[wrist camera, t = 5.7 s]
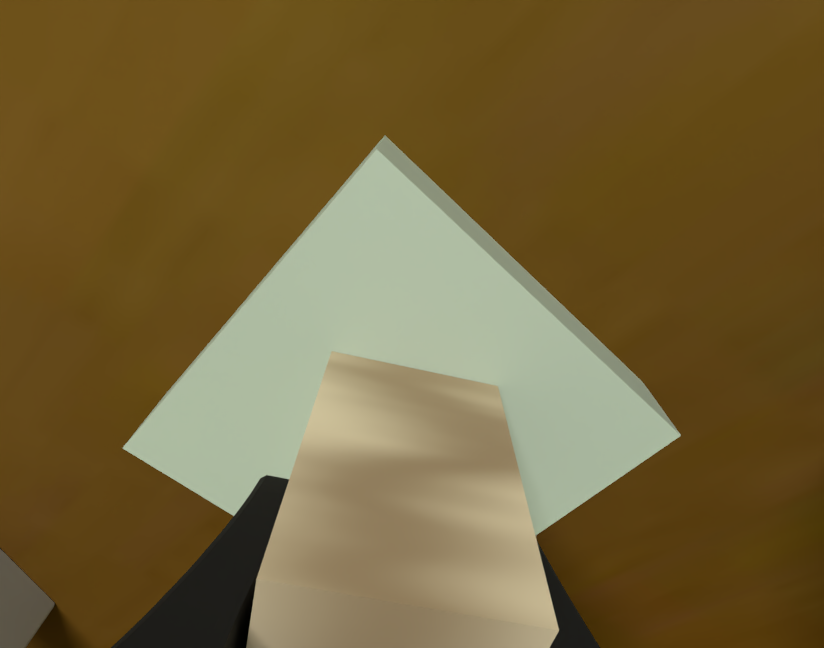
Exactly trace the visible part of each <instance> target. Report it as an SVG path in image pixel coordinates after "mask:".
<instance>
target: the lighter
mask: <svg viewBox="0 0 824 648" xmlns="http://www.w3.org/2000/svg"><path fill="white" fill-rule="evenodd" d="M54 604H55V603H54V602H53V601H52V600H51V599H50V598H49V597H48V596H47V595H46V594H45V593H44V592H43V591H42V590H41V589H40V588H39V587H38V586H37V585H36V584H35V583H34V582H33V581H32V580H31V579H30V578H29V577H28V576H27V575H26V574H25V573H24V572H23V571H22V570H21V569H20V568H19V567H18V566H17V565H16V564H15V563H14V562H13V561H12V560H11V559H10V558H9V557H8V556H7V555H6V554H5V553H4V552H3V551H2V550H1V549H0V648H26V647H27V645H28V644H29V642H30V641H31V639H32V638H33V636H34V635H35V634H36V632H37V631H38V629H39V628H40V626H41V625H42V623H43V622H44V620H45V619H46V618H47V616H48V615H49V613H50V612H51V610H52V609H53V607H54Z"/></svg>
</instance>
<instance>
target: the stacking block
mask: <svg viewBox="0 0 824 648" xmlns="http://www.w3.org/2000/svg"><path fill="white" fill-rule="evenodd" d="M331 351H334V352H338V353H343V354H348V355H353V356H357V357H362V358H367V359H372V360H376V361H381V362H386V363H391V364H395V365H400V366H405V367H410V368H415V369H419V370H424V371H429V372H434V373H438V374H443V375H448V376H453V377H457V378H462V379H467V380H472V381H476V382H481V383H486V384H491V385H495V386H498V388H499V392H500V396H501V400H502V404H503V408H504V412H505V416H506V420H507V424H508V428H509V432H510V436H511V440H512V444H513V448H514V452H515V456H516V460H517V464H518V468H519V472H520V476H521V480H522V484H523V488H524V492H525V496H526V500H527V504H528V508H529V512H530V516H531V520H532V524H533V528H534V532H535V536H536V535H537V534H539V533H540V532H542V531H543V530H544V529H546V528H547V527H549V526H550V525H552V524H553V523H555V522H556V521H557V520H559V519H560V518H562V517H563V516H565V515H566V514H568V513H569V512H571V511H572V510H573V509H575V508H576V507H578V506H579V505H581V504H582V503H584V502H585V501H587V500H588V499H589V498H591V497H592V496H594V495H595V494H597V493H598V492H600V491H601V490H603V489H604V488H605V487H607V486H608V485H610V484H611V483H613V482H614V481H616V480H617V479H618V478H620V477H621V476H623V475H624V474H626V473H627V472H629V471H630V470H632V469H633V468H634V467H636V466H637V465H639V464H640V463H642V462H643V461H645V460H646V459H648V458H649V457H650V456H652V455H653V454H655V453H656V452H658V451H659V450H661V449H662V448H664V447H665V446H666V445H668V444H669V443H671V442H672V441H674V440H675V439H677V438H678V437H680V436H681V435H680V433H679V432H678V431H677V429H676V428H675V426H674V425H673V424H672V422H671V421H670V419H669V418H668V417H667V415H666V414H665V412H664V411H663V410H662V408H661V407H660V406H659V404H658V403H657V401H656V400H655V399H654V397H653V396H652V394H651V393H650V392H649V390H648V389H647V387H646V386H645V385H644V383H643V382H642V381H641V380H640V379H639V378H638V377H637V376H636V375H635V374H634V373H633V372H632V371H631V370H629V369H628V368H627V367H626V366H625V365H624V364H623V363H622V362H621V361H620V360H619V359H618V358H617V357H616V356H615V355H614V354H613V353H612V352H611V351H610V350H609V349H608V348H606V347H605V346H604V345H603V344H602V343H601V342H600V341H599V340H598V339H597V338H596V337H595V336H594V335H593V334H592V333H591V332H590V331H589V330H588V329H587V328H586V327H585V326H584V325H582V324H581V323H580V322H579V321H578V320H577V319H576V318H575V317H574V316H573V315H572V314H571V313H570V312H569V311H568V310H567V309H566V308H565V307H564V306H563V305H562V304H561V303H559V302H558V301H557V300H556V299H555V298H554V297H553V296H552V295H551V294H550V293H549V292H548V291H547V290H546V289H545V288H544V287H543V286H542V285H541V284H540V283H539V282H538V281H537V280H535V279H534V278H533V277H532V276H531V275H530V274H529V273H528V272H527V271H526V270H525V269H524V268H523V267H522V266H521V265H520V264H519V263H518V262H517V261H516V260H515V259H514V258H512V257H511V256H510V255H509V254H508V253H507V252H506V251H505V250H504V249H503V248H502V247H501V246H500V245H499V244H498V243H497V242H496V241H495V240H494V239H493V238H492V237H491V236H490V235H488V234H487V233H486V232H485V231H484V230H483V229H482V228H481V227H480V226H479V225H478V224H477V223H476V222H475V221H474V220H473V219H472V218H471V217H470V216H469V215H468V214H467V213H465V212H464V211H463V210H462V209H461V208H460V207H459V206H458V205H457V204H456V203H455V202H454V201H453V200H452V199H451V198H450V197H449V196H448V195H447V194H446V193H445V192H444V191H443V190H441V189H440V188H439V187H438V186H437V185H436V184H435V183H434V182H433V181H432V180H431V179H430V178H429V177H428V176H427V175H426V174H425V173H424V172H423V171H422V170H421V169H420V168H418V167H417V166H416V165H415V164H414V163H413V162H412V161H411V160H410V159H409V158H408V157H407V156H406V155H405V154H404V153H403V152H402V151H401V150H400V149H399V148H398V147H397V146H396V145H394V144H393V143H392V142H391V141H390V140H389V139H388V138H387V137H386V136H384V137H383V138H382V139H381V141H380V142H379V143H378V144H377V145H376V146H375V148H374V149H373V150H372V151H371V152H370V154H369V155H368V156H367V157H366V158H365V159H364V161H363V162H362V163H361V164H360V165H359V167H358V168H357V169H356V170H355V171H354V172H353V174H352V175H351V176H350V177H349V178H348V179H347V181H346V182H345V183H344V184H343V185H342V187H341V188H340V189H339V190H338V191H337V192H336V194H335V195H334V196H333V197H332V198H331V200H330V201H329V202H328V203H327V204H326V205H325V207H324V208H323V209H322V210H321V211H320V213H319V214H318V215H317V216H316V217H315V218H314V220H313V221H312V222H311V223H310V224H309V226H308V227H307V228H306V229H305V230H304V231H303V233H302V234H301V235H300V236H299V237H298V239H297V240H296V241H295V242H294V243H293V244H292V246H291V247H290V248H289V249H288V250H287V251H286V253H285V254H284V255H283V256H282V257H281V259H280V260H279V261H278V262H277V263H276V264H275V266H274V267H273V268H272V269H271V270H270V272H269V273H268V274H267V275H266V276H265V277H264V279H263V280H262V281H261V282H260V283H259V285H258V286H257V287H256V288H255V289H254V290H253V292H252V293H251V294H250V295H249V296H248V298H247V299H246V300H245V301H244V302H243V303H242V305H241V306H240V307H239V308H238V309H237V311H236V312H235V313H234V314H233V315H232V316H231V318H230V319H229V320H228V321H227V322H226V324H225V325H224V326H223V327H222V328H221V329H220V331H219V332H218V333H217V334H216V335H215V336H214V338H213V339H212V340H211V341H210V342H209V344H208V345H207V346H206V347H205V348H204V349H203V351H202V352H201V353H200V354H199V355H198V357H197V358H196V359H195V360H194V361H193V362H192V364H191V365H190V366H189V367H188V368H187V370H186V371H185V372H184V373H183V374H182V375H181V377H180V378H179V379H178V380H177V381H176V383H175V384H174V385H173V386H172V387H171V388H170V390H169V391H168V392H167V393H166V394H165V396H164V397H163V398H162V399H161V401H160V402H159V403H158V404H157V406H156V407H155V408H154V409H153V411H152V412H151V413H150V414H149V416H148V417H147V418H146V419H145V421H144V422H143V423H142V424H141V426H140V427H139V428H138V429H137V431H136V432H135V433H134V434H133V436H132V437H131V438H130V439H129V441H128V442H127V443H126V444H125V446H124V447H123V449H125V450H126V451H128V452H130V453H131V454H133V455H135V456H136V457H138V458H139V459H141V460H143V461H144V462H146V463H148V464H149V465H151V466H153V467H154V468H156V469H158V470H159V471H161V472H162V473H164V474H166V475H167V476H169V477H171V478H172V479H174V480H176V481H177V482H179V483H181V484H182V485H184V486H185V487H187V488H189V489H190V490H192V491H194V492H195V493H197V494H199V495H200V496H202V497H204V498H205V499H207V500H208V501H210V502H212V503H213V504H215V505H217V506H218V507H220V508H222V509H223V510H225V511H227V512H228V513H230V514H231V515H233V516H234V515H235V514H236V513H237V512H238V510H239V509H240V508H241V506H242V505H243V503H244V502H245V501H246V499H247V498H248V496H249V495H250V494H251V492H252V491H253V489H254V488H255V486H256V484H257V483H258V481H259V480H260V478H262V477H264V476H266V475H269V476H275V477H280V478H285V479H290V476H291V473H292V470H293V467H294V464H295V460H296V457H297V454H298V451H299V448H300V445H301V442H302V439H303V436H304V433H305V430H306V427H307V424H308V421H309V418H310V415H311V412H312V409H313V406H314V403H315V400H316V397H317V394H318V391H319V388H320V385H321V382H322V379H323V376H324V373H325V370H326V366H327V363H328V360H329V357H330V354H331Z"/></svg>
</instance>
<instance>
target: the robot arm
mask: <svg viewBox="0 0 824 648" xmlns="http://www.w3.org/2000/svg"><path fill="white" fill-rule="evenodd" d="M288 482H289V479H285V478H280V477H275V476H269V475H266V476H264V477H262V478H260V480H259V481H258V483H257V484H256V486H255V488H254V489H253V491H252V492H251V494H250V495H249V496H248V498H247V499H246V501H245V502H244V503H243V505H242V506H241V508H240V509H239V510H238V512H237V513H236V514H235V515H234V517H233V518H232V519H231V520H230V522H229V523H228V524H227V526H226V527H225V528H224V529H223V531H222V532H221V533H220V534H219V535H218V536H217V538H216V539H215V540H214V541H213V542H212V543H211V545H210V546H209V547H208V548H207V549H206V550H205V552H204V553H203V554H202V555H201V556H200V558H199V559H198V560H197V561H196V562H195V563H194V564H193V565H192V567H191V568H190V569H189V570H188V571H187V572H186V573H185V574H184V575H183V576H182V577H181V578H180V579H179V580H178V582H177V583H176V584H175V585H174V586H173V587H172V588H171V589H170V590H169V591H168V592H167V593H166V594H165V595H164V596H163V597H162V598H161V599H160V601H159V602H158V603H157V604H156V605H155V606H154V607H153V608H152V609H151V610H150V611H149V612H148V613H147V614H146V615H145V616H144V617H143V618H142V619H141V620H140V621H139V622H138V623H137V624H136V625H135V626H134V627H133V628H131V629H130V630H129V631H128V632H127V633H126V634H125V635H124V636H123V637H122V638H121V639H120V640H119V641H118V642H117V643H116V644H115V645H113V646H112V647H111V648H246V646H247V639H248V632H249V626H250V619H251V612H252V606H253V599H254V592H255V585H256V579H257V576H258V573H259V570H260V567H261V564H262V561H263V558H264V554H265V551H266V548H267V545H268V542H269V539H270V536H271V533H272V530H273V527H274V524H275V521H276V518H277V515H278V512H279V509H280V506H281V503H282V500H283V497H284V494H285V491H286V488H287V485H288ZM537 544H538V542H537ZM538 548H539V552H540V556H541V560H542V564H543V568H544V572H545V576H546V580H547V584H548V588H549V592H550V596H551V600H552V604H553V608H554V612H555V616H556V620H557V624H558V628H559V632H558V633H557V635H556V637H555V639H554V641H553V642H552V644H551V646H550V648H600V647H599V645H598V644H597V642H596V641H595V639H594V637H593V636H592V634H591V632H590V631H589V629H588V628H587V626H586V624H585V623H584V621H583V619H582V618H581V616H580V615H579V613H578V611H577V610H576V608H575V606H574V605H573V603H572V601H571V600H570V598H569V596H568V595H567V593H566V591H565V590H564V588H563V586H562V584H561V583H560V581H559V579H558V577H557V576H556V574H555V572H554V570H553V569H552V567H551V565H550V563H549V562H548V560H547V558H546V556H545V555H544V553H543V551H542V549H541V547H540V546H539V544H538Z"/></svg>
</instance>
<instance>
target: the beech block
mask: <svg viewBox="0 0 824 648" xmlns="http://www.w3.org/2000/svg"><path fill="white" fill-rule="evenodd" d="M558 632H559V628H558V624H557V620H556V616H555V612H554V608H553V604H552V600H551V596H550V592H549V588H548V584H547V580H546V576H545V572H544V568H543V564H542V560H541V556H540V552H539V548H538V544H537V540H536V536H535V532H534V528H533V524H532V520H531V516H530V512H529V508H528V504H527V500H526V496H525V492H524V488H523V484H522V480H521V476H520V472H519V468H518V464H517V460H516V456H515V452H514V448H513V444H512V440H511V436H510V432H509V428H508V424H507V420H506V416H505V412H504V408H503V404H502V400H501V396H500V392H499V388H498V386H495V385H491V384H486V383H481V382H476V381H472V380H467V379H462V378H457V377H453V376H448V375H443V374H438V373H434V372H429V371H424V370H419V369H415V368H410V367H405V366H400V365H395V364H391V363H386V362H381V361H376V360H372V359H367V358H362V357H357V356H353V355H348V354H343V353H338V352H334V351H331V354H330V357H329V360H328V363H327V366H326V370H325V373H324V376H323V379H322V382H321V385H320V388H319V391H318V394H317V397H316V400H315V403H314V406H313V409H312V412H311V415H310V418H309V421H308V424H307V427H306V430H305V433H304V436H303V439H302V442H301V445H300V448H299V451H298V454H297V457H296V460H295V464H294V467H293V470H292V473H291V476H290V479H289V482H288V485H287V488H286V491H285V494H284V497H283V500H282V503H281V506H280V509H279V512H278V515H277V518H276V521H275V524H274V527H273V530H272V533H271V536H270V539H269V542H268V545H267V548H266V551H265V554H264V558H263V561H262V564H261V567H260V570H259V573H258V576H257V579H256V585H255V592H254V599H253V606H252V612H251V619H250V626H249V632H248V639H247V646H246V648H550V646H551V644H552V642H553V641H554V639H555V637H556V635H557V633H558Z"/></svg>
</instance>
